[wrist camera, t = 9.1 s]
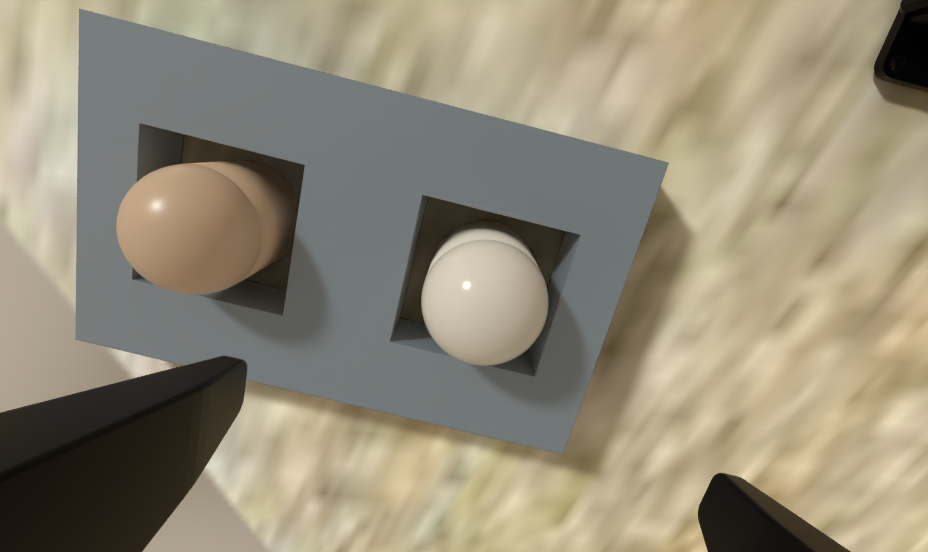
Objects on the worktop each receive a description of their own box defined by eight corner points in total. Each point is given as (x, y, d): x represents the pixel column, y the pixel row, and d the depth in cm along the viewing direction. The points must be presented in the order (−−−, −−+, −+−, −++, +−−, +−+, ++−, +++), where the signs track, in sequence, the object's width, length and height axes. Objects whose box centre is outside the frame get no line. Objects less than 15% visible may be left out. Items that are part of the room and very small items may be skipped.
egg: (547, 235, 19) (577, 274, 14) (519, 331, 20) (536, 403, 15) (443, 210, 19) (430, 240, 13) (421, 308, 20) (401, 373, 15)
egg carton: (643, 160, 18) (716, 168, 13) (553, 419, 21) (579, 517, 16) (134, 27, 17) (-29, -28, 12) (122, 316, 21) (-10, 380, 15)
